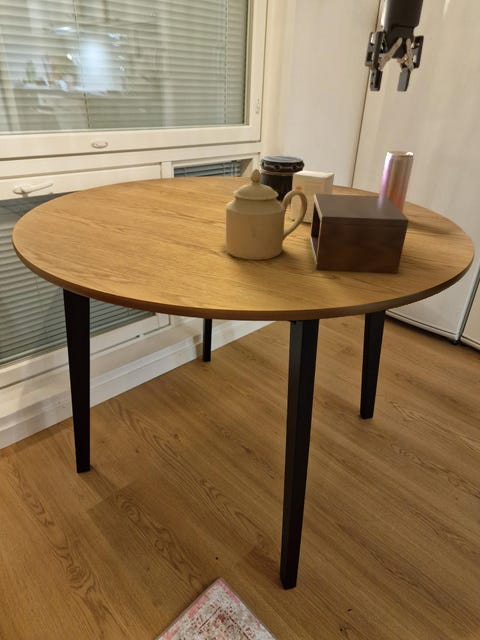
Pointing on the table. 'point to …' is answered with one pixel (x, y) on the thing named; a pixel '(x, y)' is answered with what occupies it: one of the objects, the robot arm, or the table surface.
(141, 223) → the table surface
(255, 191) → the sugar bowl
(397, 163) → the beverage can
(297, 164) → the container
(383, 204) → the open-ended wooden box
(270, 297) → the table surface
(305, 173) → the small box
